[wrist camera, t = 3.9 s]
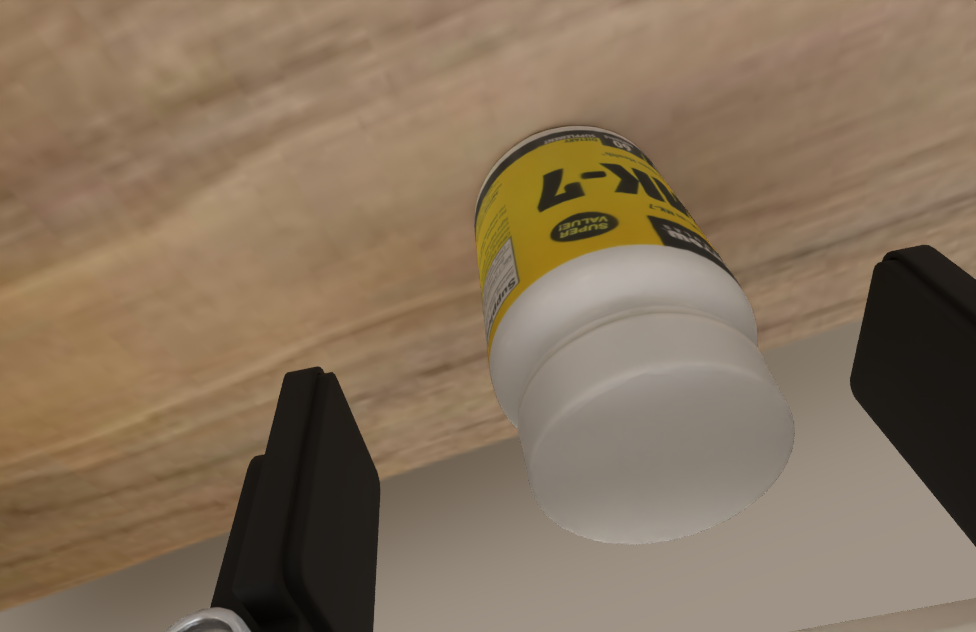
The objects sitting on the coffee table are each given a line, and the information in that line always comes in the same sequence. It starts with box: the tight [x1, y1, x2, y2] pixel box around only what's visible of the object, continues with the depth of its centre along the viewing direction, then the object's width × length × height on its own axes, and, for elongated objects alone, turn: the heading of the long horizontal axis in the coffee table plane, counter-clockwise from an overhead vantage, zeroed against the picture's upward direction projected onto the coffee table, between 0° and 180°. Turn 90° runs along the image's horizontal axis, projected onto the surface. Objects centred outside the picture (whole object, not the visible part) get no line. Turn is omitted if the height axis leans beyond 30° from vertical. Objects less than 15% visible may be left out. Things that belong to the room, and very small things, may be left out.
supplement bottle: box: [474, 126, 794, 545], centre depth 13 cm, size 5×5×8 cm
